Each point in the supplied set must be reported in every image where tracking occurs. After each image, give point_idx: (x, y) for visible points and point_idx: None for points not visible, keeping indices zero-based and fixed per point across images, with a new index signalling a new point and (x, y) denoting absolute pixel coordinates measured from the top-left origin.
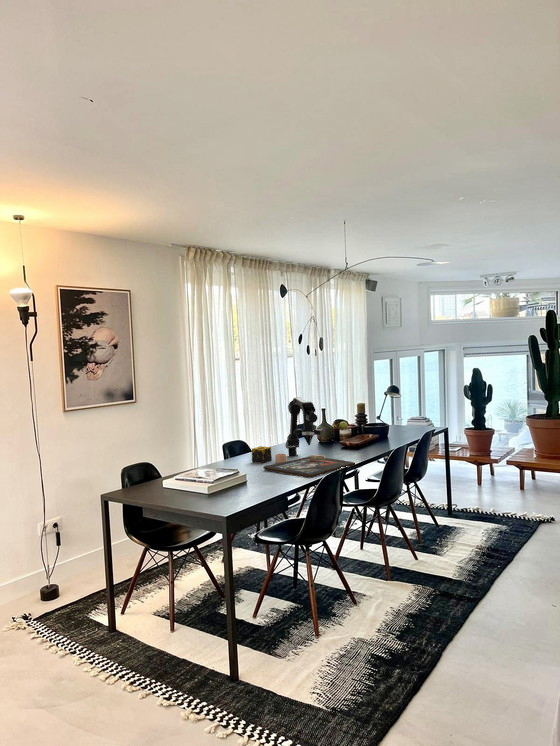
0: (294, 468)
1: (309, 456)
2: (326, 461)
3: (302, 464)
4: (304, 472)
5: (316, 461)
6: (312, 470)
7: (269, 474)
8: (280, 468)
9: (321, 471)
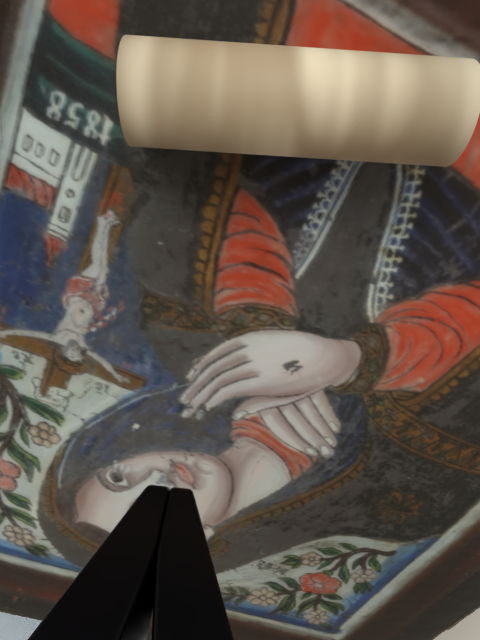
0: None
1: (135, 141)
2: None
3: (146, 382)
4: (287, 618)
5: None
6: (342, 568)
7: (5, 619)
8: (35, 603)
9: (441, 629)
